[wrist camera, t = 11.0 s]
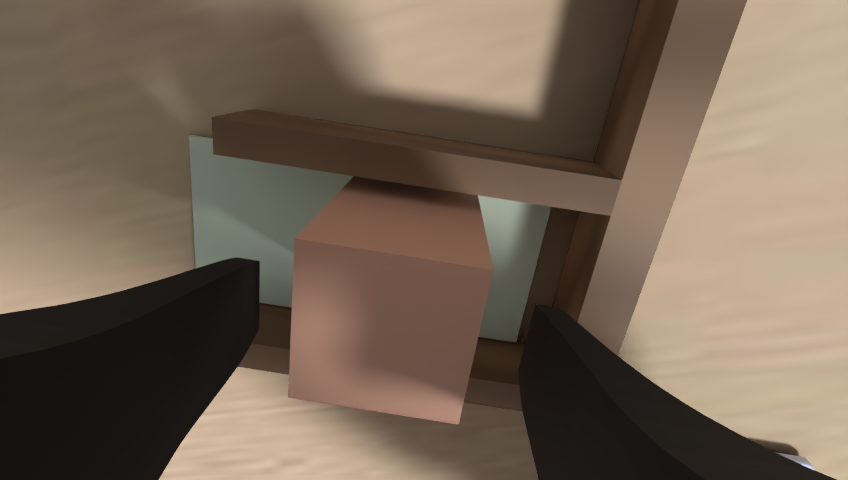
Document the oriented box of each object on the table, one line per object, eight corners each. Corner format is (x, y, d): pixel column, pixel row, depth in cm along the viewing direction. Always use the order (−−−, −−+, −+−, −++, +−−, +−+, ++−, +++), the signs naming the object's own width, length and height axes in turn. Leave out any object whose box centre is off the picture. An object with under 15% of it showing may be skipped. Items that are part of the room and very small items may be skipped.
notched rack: (573, 373, 17) (593, 422, 14) (200, 315, 17) (160, 354, 15) (862, -510, 9) (1009, -718, 7) (154, -614, 9) (49, -856, 7)
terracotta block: (456, 299, 16) (458, 424, 10) (346, 282, 16) (288, 397, 10) (477, 192, 14) (493, 269, 9) (356, 173, 14) (294, 238, 9)
